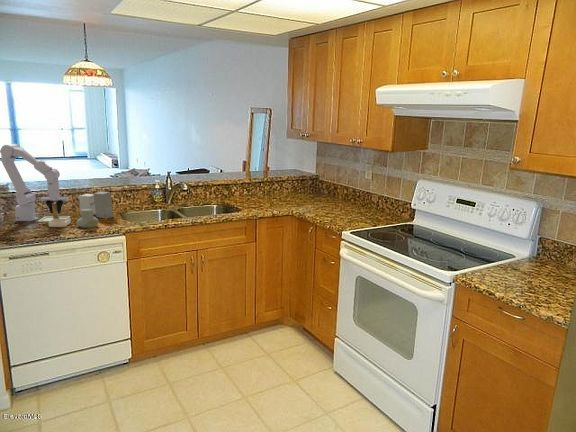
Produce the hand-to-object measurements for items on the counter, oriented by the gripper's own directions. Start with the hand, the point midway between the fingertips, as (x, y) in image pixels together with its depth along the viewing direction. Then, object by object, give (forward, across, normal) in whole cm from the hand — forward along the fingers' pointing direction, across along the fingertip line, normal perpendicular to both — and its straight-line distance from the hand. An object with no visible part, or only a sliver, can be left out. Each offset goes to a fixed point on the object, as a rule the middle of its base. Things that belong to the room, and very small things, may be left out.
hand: (55, 213), depth 249 cm
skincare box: (+5, +25, +7) cm, 26 cm away
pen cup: (+4, +6, -12) cm, 14 cm away
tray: (+4, -1, 0) cm, 5 cm away
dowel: (+3, 0, 0) cm, 3 cm away
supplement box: (+5, +14, +15) cm, 21 cm away
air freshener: (+5, +22, -16) cm, 28 cm away
